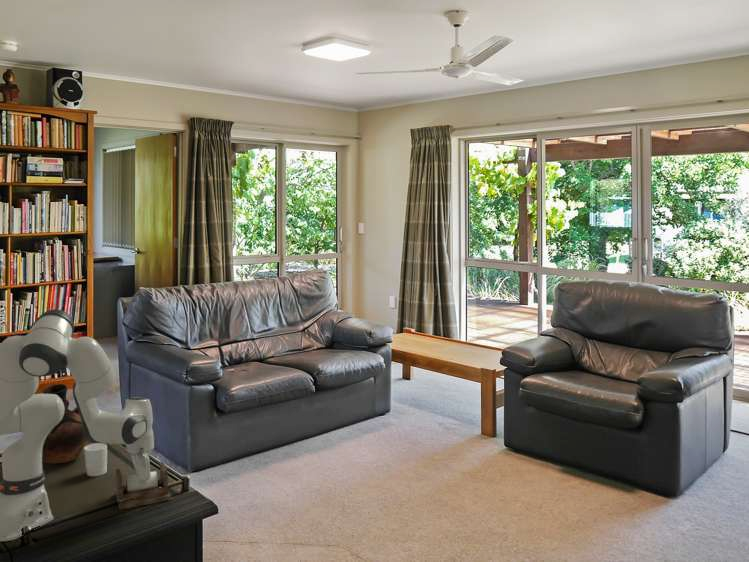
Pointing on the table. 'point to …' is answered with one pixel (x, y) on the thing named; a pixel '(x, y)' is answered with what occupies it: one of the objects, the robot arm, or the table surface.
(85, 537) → the table surface
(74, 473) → the table surface
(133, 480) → the paper roll
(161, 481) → the roll holder
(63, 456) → the ceramic vessel
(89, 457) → the white cup
